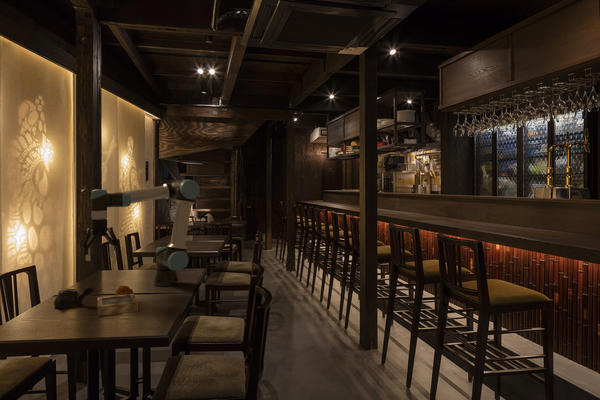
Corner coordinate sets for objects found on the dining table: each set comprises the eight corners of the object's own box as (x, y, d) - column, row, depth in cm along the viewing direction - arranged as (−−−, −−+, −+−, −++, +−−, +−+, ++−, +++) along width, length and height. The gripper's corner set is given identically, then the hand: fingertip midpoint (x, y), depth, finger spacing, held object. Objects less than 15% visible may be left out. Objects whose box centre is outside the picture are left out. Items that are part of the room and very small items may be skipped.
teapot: (46, 311, 195) (45, 290, 195) (60, 303, 210) (60, 283, 210) (88, 309, 197) (88, 288, 197) (99, 301, 213) (99, 282, 213)
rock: (113, 308, 214) (117, 291, 221) (130, 309, 217) (133, 292, 224) (113, 297, 207) (117, 280, 214) (131, 298, 209) (134, 281, 216)
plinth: (134, 301, 211) (134, 293, 211) (138, 310, 194) (137, 302, 194) (97, 306, 204) (97, 297, 204) (98, 315, 187) (97, 306, 187)
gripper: (116, 217, 229) (116, 255, 230) (72, 220, 208) (73, 261, 208) (124, 217, 225) (125, 256, 226) (80, 220, 204) (81, 263, 204)
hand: (100, 259), depth 217 cm, fingers open, 13 cm apart
